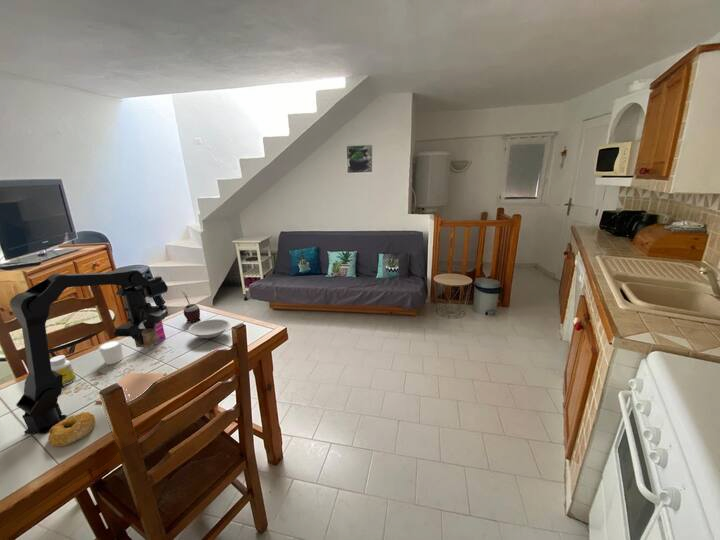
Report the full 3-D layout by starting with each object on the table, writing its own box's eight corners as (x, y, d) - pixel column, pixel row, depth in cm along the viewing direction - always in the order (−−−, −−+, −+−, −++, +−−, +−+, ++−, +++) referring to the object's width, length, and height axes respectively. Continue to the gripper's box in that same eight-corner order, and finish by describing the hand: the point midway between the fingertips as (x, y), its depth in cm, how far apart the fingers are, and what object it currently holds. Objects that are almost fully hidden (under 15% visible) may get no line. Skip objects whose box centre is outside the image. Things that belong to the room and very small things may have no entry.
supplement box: (155, 345, 128) (148, 321, 125) (144, 343, 130) (137, 320, 126) (166, 338, 134) (160, 315, 130) (156, 336, 135) (150, 314, 132)
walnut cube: (149, 347, 110) (146, 335, 108) (136, 347, 110) (133, 335, 108) (158, 340, 115) (155, 328, 113) (146, 340, 115) (143, 328, 113)
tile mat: (138, 403, 96) (137, 401, 96) (96, 402, 96) (95, 400, 96) (166, 374, 109) (165, 373, 109) (129, 374, 110) (128, 372, 109)
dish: (237, 329, 141) (235, 319, 139) (221, 345, 127) (219, 335, 126) (202, 327, 142) (200, 318, 141) (182, 344, 129) (180, 334, 127)
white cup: (113, 366, 115) (108, 350, 113) (98, 364, 116) (93, 348, 114) (129, 355, 121) (125, 340, 119) (115, 354, 122) (111, 339, 120)
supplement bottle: (51, 388, 103) (41, 364, 100) (61, 378, 108) (52, 355, 105) (70, 385, 105) (61, 361, 102) (79, 375, 110) (71, 352, 107)
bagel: (86, 414, 92) (81, 401, 90) (104, 427, 87) (99, 414, 86) (42, 439, 84) (36, 426, 82) (60, 455, 79) (54, 441, 77)
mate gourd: (198, 323, 147) (192, 295, 142) (181, 324, 146) (175, 296, 141) (203, 316, 154) (198, 289, 149) (187, 317, 153) (181, 290, 148)
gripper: (139, 314, 98) (150, 355, 103) (174, 292, 116) (182, 328, 121) (106, 314, 98) (119, 355, 103) (146, 292, 116) (155, 328, 121)
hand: (147, 340), depth 112 cm, fingers closed on walnut cube, 5 cm apart
